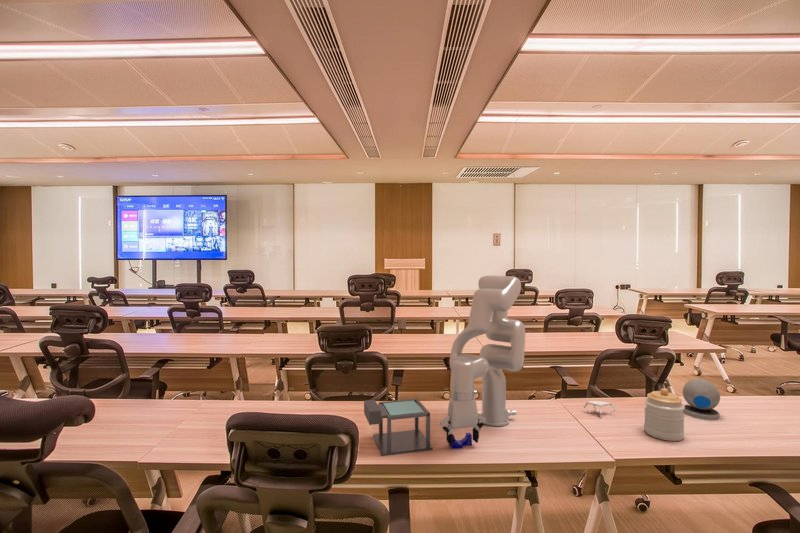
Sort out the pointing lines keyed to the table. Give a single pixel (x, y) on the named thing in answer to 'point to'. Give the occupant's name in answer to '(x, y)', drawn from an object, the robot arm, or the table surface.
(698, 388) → the webcam
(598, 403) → the white legged frame
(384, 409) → the trapdoor
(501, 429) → the table surface
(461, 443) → the cable holder
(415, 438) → the stand
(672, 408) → the jar
